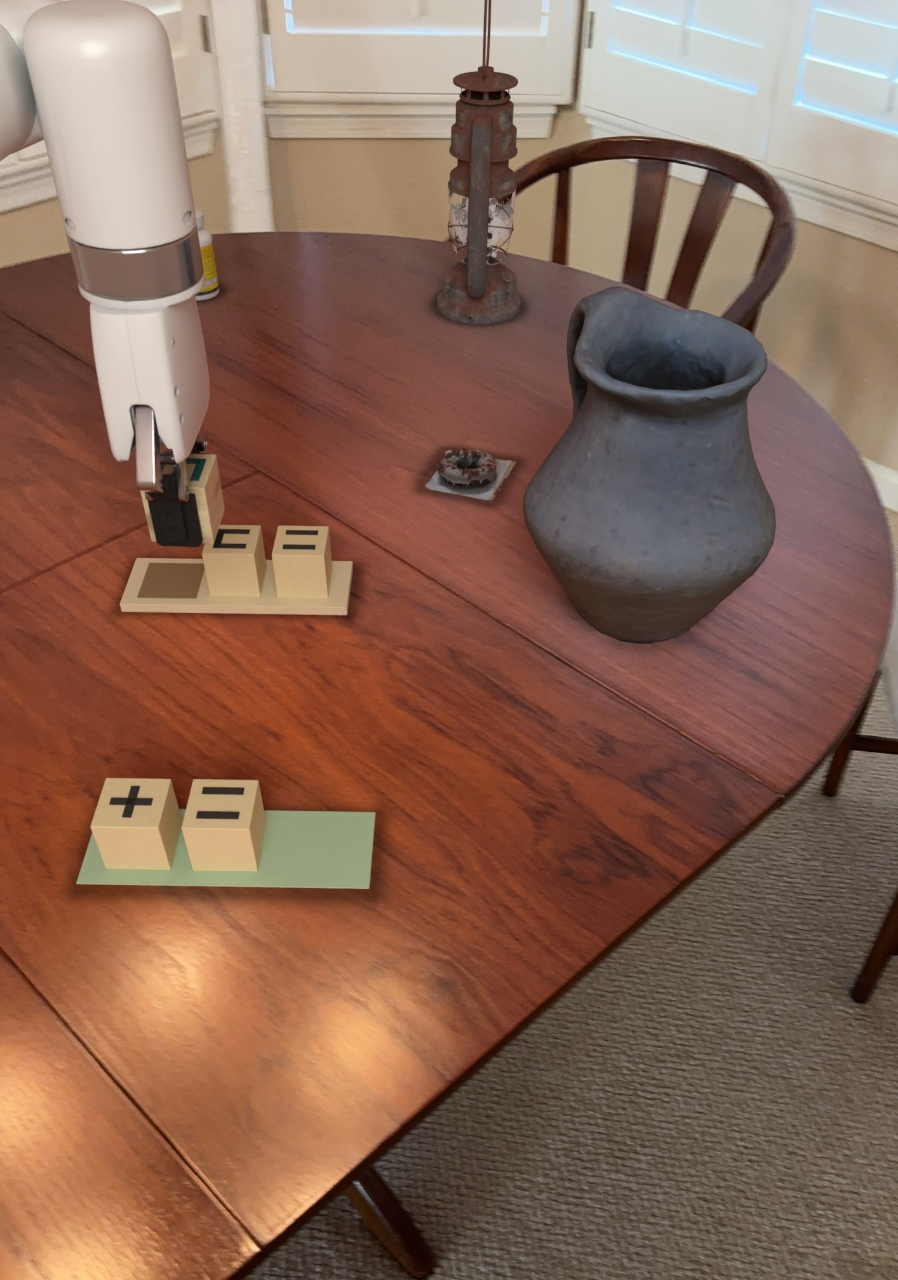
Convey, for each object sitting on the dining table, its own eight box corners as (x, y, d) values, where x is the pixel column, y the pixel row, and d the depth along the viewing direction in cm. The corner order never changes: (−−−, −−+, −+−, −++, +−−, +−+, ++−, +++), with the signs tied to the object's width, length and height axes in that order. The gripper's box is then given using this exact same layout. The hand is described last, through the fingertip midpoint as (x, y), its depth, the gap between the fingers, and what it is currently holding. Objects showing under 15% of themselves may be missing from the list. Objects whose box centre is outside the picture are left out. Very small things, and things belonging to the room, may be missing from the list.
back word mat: (121, 613, 93) (107, 559, 89) (138, 566, 98) (125, 514, 94) (347, 616, 93) (343, 563, 89) (353, 570, 98) (349, 517, 94)
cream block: (151, 542, 75) (138, 484, 72) (164, 507, 78) (153, 450, 75) (214, 544, 75) (204, 486, 72) (225, 509, 78) (216, 452, 75)
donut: (446, 451, 113) (446, 433, 111) (516, 463, 111) (517, 445, 110) (419, 490, 107) (419, 472, 106) (492, 504, 106) (493, 486, 104)
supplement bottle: (228, 293, 140) (217, 213, 132) (195, 305, 137) (182, 224, 130) (203, 282, 142) (191, 202, 135) (170, 293, 140) (156, 213, 132)
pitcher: (610, 714, 85) (658, 424, 67) (465, 577, 97) (472, 301, 79) (796, 630, 92) (885, 349, 74) (639, 513, 105) (682, 248, 86)
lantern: (430, 332, 132) (429, -15, 106) (442, 280, 143) (444, -46, 117) (517, 336, 132) (538, -11, 106) (523, 284, 143) (542, -43, 117)
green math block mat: (79, 892, 72) (57, 839, 68) (103, 816, 77) (84, 762, 73) (370, 897, 72) (366, 844, 68) (376, 820, 77) (372, 767, 73)
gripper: (110, 207, 69) (161, 461, 82) (33, 318, 57) (107, 592, 71) (225, 211, 69) (257, 464, 82) (170, 322, 57) (218, 596, 71)
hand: (187, 521), depth 76 cm, fingers closed on cream block, 4 cm apart
